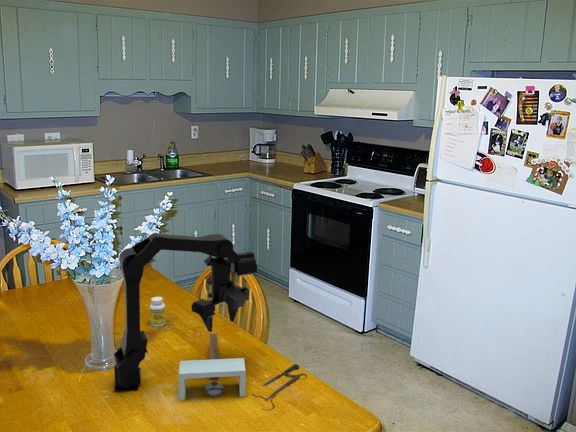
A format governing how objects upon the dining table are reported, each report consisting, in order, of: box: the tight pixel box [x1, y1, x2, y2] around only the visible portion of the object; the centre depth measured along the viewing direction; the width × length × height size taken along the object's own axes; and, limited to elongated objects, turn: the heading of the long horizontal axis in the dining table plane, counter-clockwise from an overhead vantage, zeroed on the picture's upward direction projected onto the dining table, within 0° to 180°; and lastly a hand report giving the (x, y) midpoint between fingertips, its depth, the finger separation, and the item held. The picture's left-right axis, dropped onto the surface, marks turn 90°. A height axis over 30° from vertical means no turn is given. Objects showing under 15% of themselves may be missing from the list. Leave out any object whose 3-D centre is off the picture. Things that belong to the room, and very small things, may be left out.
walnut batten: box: [209, 332, 220, 381], centre depth 169 cm, size 2×20×5 cm, turn 8°
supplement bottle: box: [149, 296, 167, 328], centre depth 194 cm, size 5×5×10 cm
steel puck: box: [204, 381, 224, 398], centre depth 153 cm, size 5×5×2 cm
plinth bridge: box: [178, 357, 246, 401], centre depth 153 cm, size 18×7×8 cm, turn 98°
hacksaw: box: [251, 363, 308, 411], centre depth 157 cm, size 24×10×2 cm, turn 140°
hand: (221, 326), depth 164 cm, fingers open, 9 cm apart
